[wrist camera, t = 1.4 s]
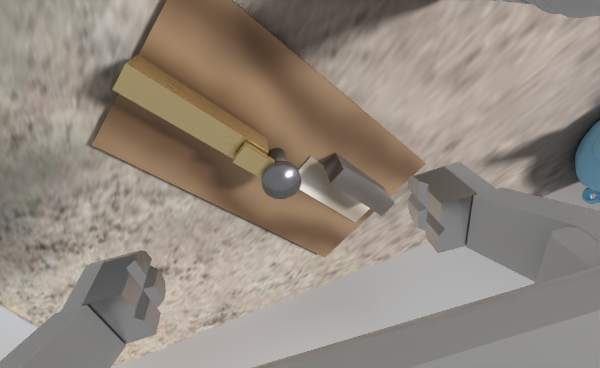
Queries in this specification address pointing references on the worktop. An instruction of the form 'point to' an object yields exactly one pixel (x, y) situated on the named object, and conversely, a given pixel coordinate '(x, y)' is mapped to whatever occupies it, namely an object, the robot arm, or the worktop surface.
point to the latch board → (260, 128)
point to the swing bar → (206, 124)
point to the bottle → (565, 7)
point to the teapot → (589, 163)
